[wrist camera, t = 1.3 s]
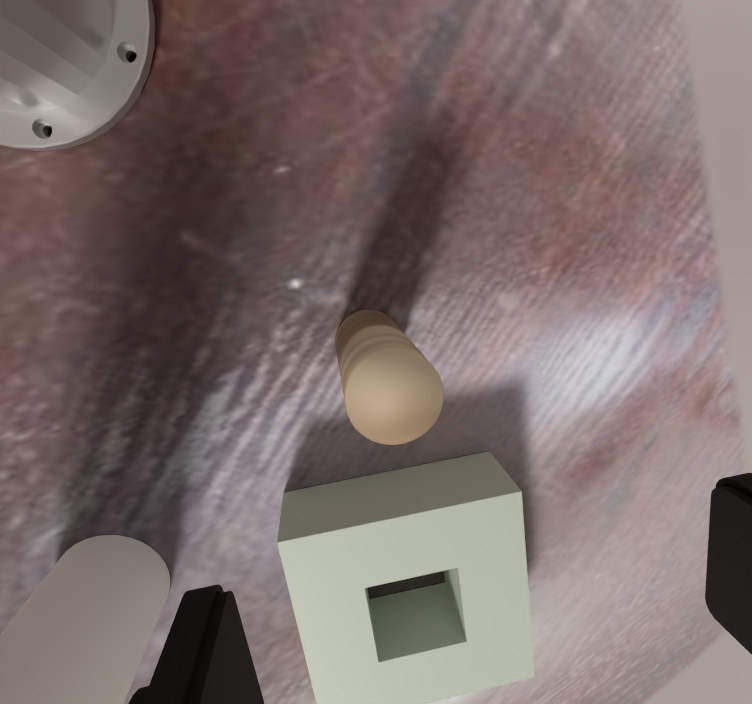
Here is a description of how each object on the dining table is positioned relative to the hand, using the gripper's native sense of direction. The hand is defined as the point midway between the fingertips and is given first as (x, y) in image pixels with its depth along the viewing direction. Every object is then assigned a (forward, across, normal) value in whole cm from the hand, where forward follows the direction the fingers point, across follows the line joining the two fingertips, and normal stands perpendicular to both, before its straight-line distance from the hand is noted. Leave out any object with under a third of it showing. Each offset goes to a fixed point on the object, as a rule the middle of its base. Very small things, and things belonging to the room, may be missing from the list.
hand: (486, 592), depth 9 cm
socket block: (+20, 0, +16) cm, 26 cm away
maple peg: (+20, 0, 0) cm, 20 cm away
